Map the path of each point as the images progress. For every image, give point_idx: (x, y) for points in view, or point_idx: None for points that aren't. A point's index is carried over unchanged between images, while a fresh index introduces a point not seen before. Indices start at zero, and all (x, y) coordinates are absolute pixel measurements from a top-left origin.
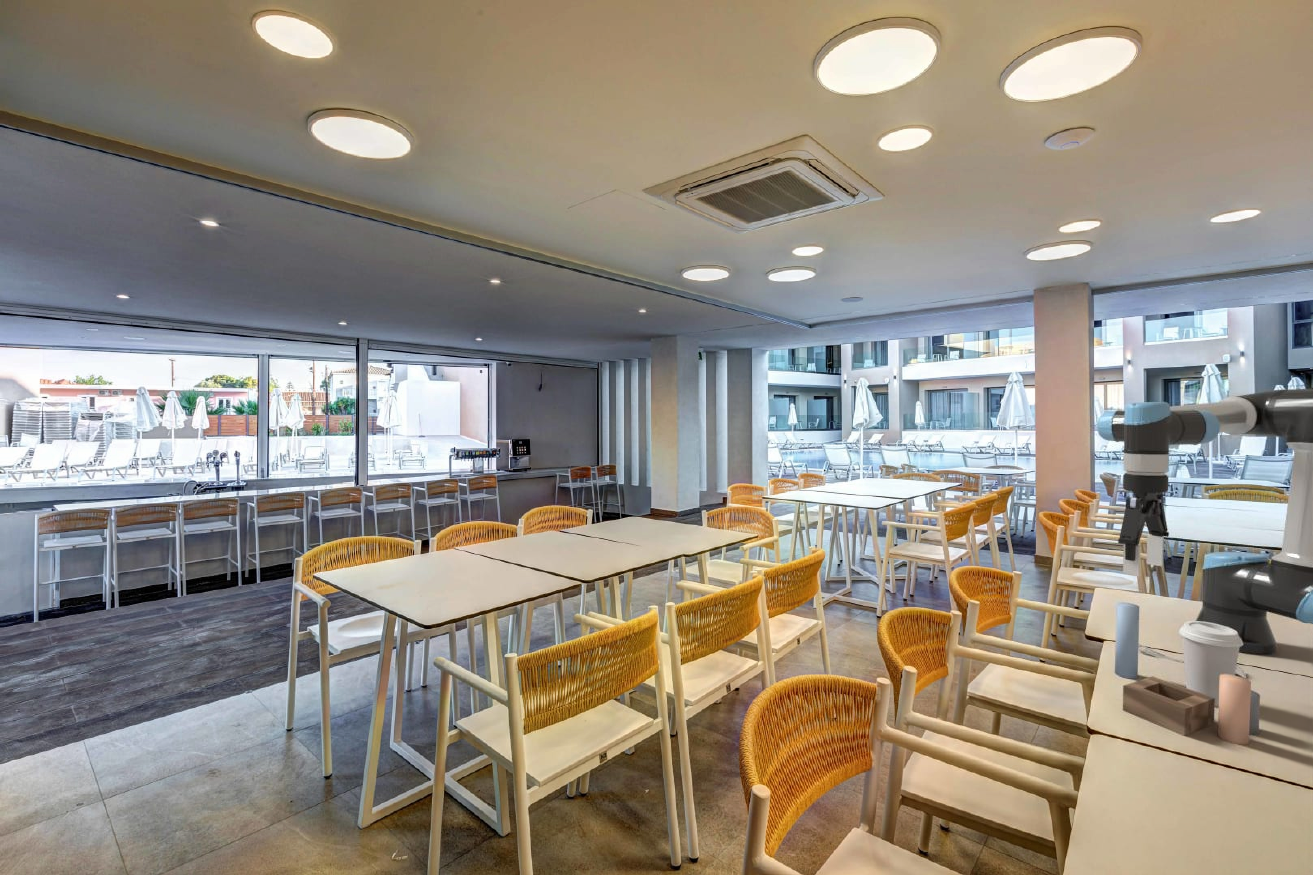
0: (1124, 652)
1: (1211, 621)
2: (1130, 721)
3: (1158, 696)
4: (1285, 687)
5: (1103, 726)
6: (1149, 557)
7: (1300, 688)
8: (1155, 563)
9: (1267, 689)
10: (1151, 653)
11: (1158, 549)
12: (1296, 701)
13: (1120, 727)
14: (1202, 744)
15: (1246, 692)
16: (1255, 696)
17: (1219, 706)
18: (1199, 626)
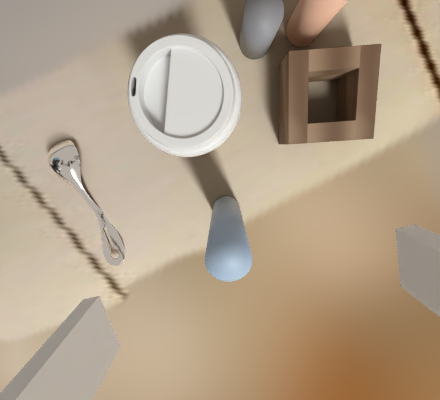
0: (241, 215)
1: None
2: (376, 114)
3: (366, 90)
4: (43, 98)
5: (425, 118)
6: (99, 367)
7: (24, 87)
8: (102, 323)
9: (78, 104)
10: (118, 239)
11: (44, 393)
12: (81, 63)
13: (407, 107)
14: (360, 35)
15: None
16: None
17: (330, 20)
18: (186, 117)
